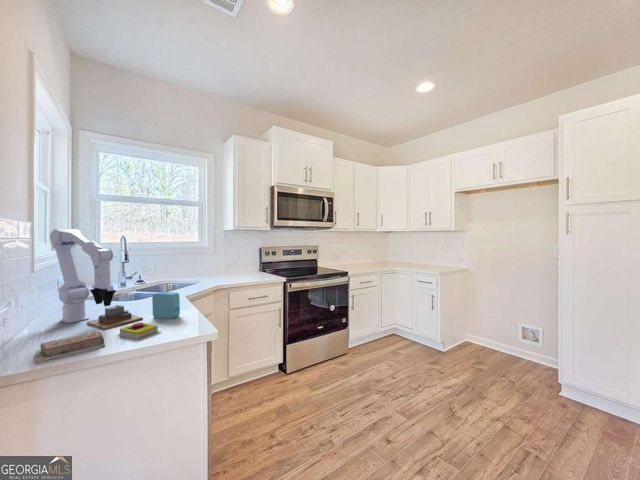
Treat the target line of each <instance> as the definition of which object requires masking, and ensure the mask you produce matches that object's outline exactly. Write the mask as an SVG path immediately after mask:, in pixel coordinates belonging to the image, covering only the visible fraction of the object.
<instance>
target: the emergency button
mask: <svg viewBox="0 0 640 480" xmlns="http://www.w3.org/2000/svg"><path fill="white" fill-rule="evenodd" d="M160 334H162V331H159V329H158V325H156V324H151V323H146V322H135V323H133V324H131V325H127V326H125V327H121V328H120V329H119V333H117V337H118V336H119V337H123V338H127V339H131V340H136V341H142V340H146V339H149V338H151V337H154V336H157V335H160Z"/></svg>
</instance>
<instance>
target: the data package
mask: <svg viewBox="0 0 640 480" xmlns="http://www.w3.org/2000/svg"><path fill="white" fill-rule="evenodd" d="M151 297H152V300H151V301H152V316H153V317H154V318H155V319H164V320H165V319H167V320H172V319H175V318H177V317H179V316H180V315H181V313H180V312H181V311H180V309H181V308H180V302H181V301H180V294H179V293H178V292H175V291H174V292H172V291H171V292H170V291H169V292H168V291H160V292H156V293H153V294H152V296H151Z"/></svg>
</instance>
